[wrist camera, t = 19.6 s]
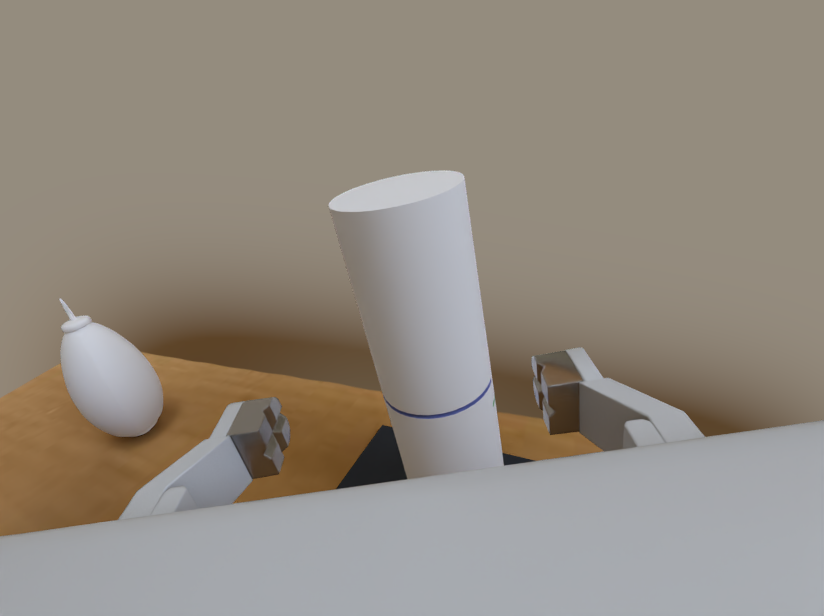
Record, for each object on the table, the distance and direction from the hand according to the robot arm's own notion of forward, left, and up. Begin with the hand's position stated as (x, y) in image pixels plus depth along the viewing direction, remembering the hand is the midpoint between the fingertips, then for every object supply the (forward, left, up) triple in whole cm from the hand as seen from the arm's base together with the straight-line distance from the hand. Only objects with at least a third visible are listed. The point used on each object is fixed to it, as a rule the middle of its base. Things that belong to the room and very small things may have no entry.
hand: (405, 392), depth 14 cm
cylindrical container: (-2, +12, -21) cm, 24 cm away
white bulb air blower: (-41, +22, -22) cm, 51 cm away
